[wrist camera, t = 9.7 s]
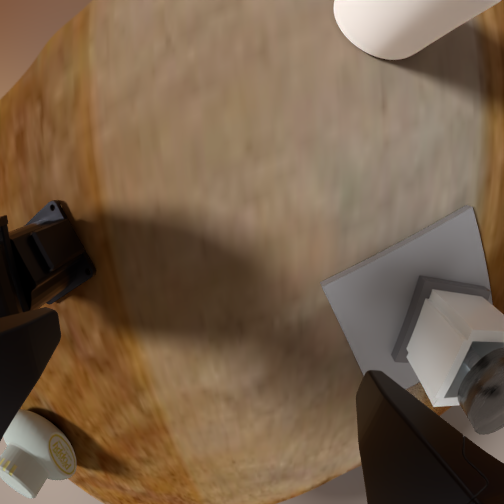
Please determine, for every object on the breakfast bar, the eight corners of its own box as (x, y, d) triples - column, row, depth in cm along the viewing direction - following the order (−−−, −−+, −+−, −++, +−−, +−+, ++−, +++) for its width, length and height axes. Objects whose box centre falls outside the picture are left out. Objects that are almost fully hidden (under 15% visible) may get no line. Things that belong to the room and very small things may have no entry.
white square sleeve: (390, 354, 22) (419, 413, 15) (419, 275, 20) (465, 320, 13) (468, 357, 21) (503, 405, 15) (496, 288, 19) (545, 326, 13)
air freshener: (88, 464, 31) (60, 519, 21) (43, 449, 31) (13, 495, 22) (55, 407, 28) (12, 466, 18) (10, 392, 28) (-33, 440, 19)
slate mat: (373, 397, 24) (375, 403, 23) (320, 282, 21) (321, 287, 20) (491, 331, 21) (496, 336, 21) (466, 205, 19) (472, 206, 18)
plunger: (416, 360, 19) (460, 438, 12) (439, 303, 18) (501, 372, 10) (462, 361, 19) (510, 429, 12) (485, 309, 18) (548, 368, 10)
